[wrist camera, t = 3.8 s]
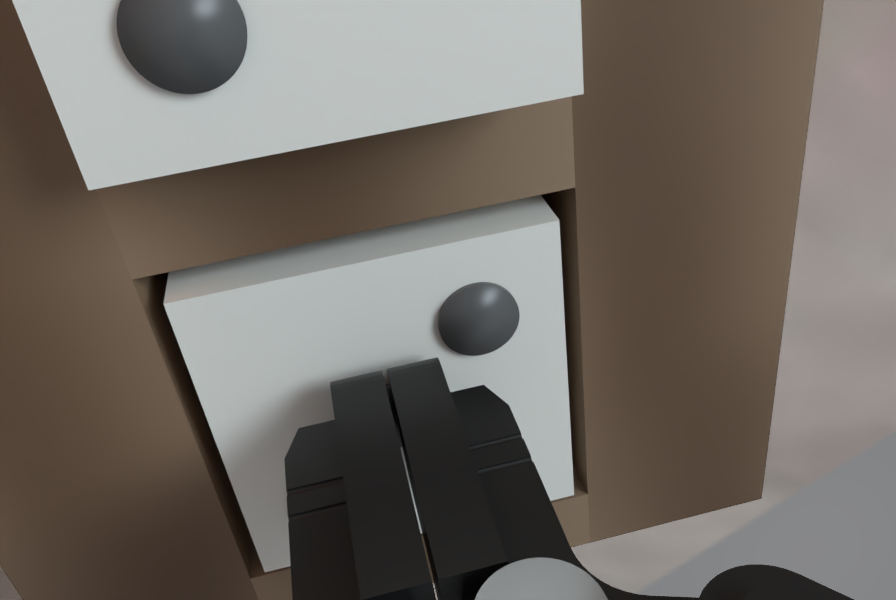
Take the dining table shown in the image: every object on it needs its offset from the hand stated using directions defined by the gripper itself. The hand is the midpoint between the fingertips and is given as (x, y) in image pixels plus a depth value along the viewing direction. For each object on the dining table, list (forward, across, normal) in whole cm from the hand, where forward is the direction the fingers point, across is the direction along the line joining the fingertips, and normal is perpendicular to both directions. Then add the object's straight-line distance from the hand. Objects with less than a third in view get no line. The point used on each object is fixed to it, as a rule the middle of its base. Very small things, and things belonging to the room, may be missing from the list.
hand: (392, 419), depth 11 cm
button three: (+3, 0, 0) cm, 3 cm away
